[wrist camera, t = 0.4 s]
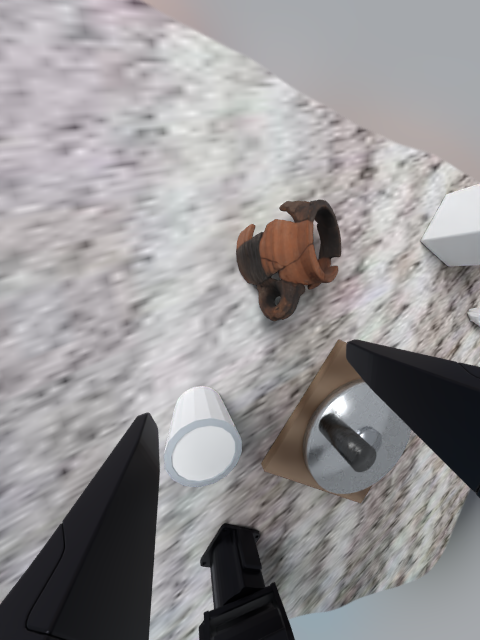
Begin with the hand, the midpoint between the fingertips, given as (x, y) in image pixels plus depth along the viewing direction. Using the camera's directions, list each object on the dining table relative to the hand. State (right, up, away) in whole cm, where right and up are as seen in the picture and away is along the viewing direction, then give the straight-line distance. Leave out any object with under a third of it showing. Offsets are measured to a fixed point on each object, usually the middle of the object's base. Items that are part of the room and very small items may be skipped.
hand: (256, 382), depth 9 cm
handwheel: (+16, -14, +21) cm, 30 cm away
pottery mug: (+3, +9, +15) cm, 18 cm away
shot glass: (-6, -8, +16) cm, 19 cm away
